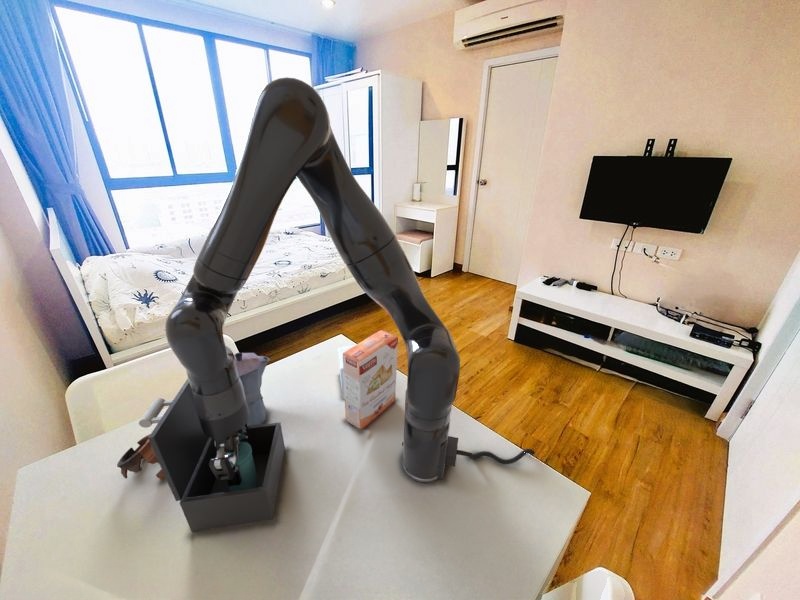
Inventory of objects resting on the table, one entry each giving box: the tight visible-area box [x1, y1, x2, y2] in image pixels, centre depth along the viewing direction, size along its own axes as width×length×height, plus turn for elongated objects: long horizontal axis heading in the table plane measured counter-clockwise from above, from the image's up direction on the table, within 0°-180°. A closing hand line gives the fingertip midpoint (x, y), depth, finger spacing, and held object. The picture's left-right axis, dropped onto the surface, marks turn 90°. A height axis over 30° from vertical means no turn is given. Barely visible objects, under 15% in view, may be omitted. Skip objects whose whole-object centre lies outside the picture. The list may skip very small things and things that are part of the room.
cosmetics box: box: [337, 344, 356, 399], centre depth 92 cm, size 10×6×10 cm, turn 14°
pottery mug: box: [116, 433, 166, 480], centre depth 68 cm, size 12×10×8 cm
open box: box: [179, 421, 286, 533], centre depth 63 cm, size 14×16×9 cm
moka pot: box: [234, 352, 271, 426], centre depth 76 cm, size 10×15×20 cm, turn 124°
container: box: [225, 442, 258, 491], centre depth 62 cm, size 6×6×9 cm
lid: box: [138, 378, 209, 502], centre depth 56 cm, size 14×16×5 cm
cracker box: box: [343, 329, 399, 430], centre depth 80 cm, size 14×6×21 cm, turn 143°
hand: (239, 468), depth 62 cm, fingers closed on container, 5 cm apart
